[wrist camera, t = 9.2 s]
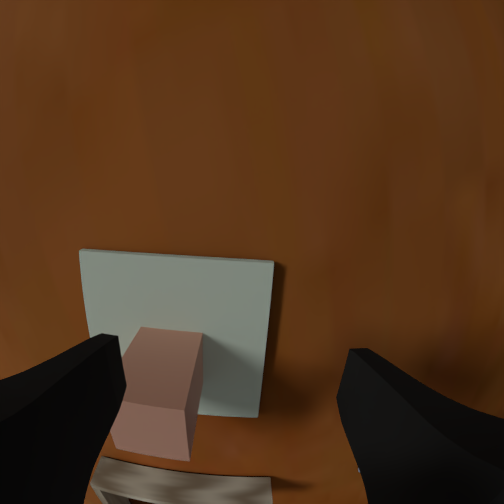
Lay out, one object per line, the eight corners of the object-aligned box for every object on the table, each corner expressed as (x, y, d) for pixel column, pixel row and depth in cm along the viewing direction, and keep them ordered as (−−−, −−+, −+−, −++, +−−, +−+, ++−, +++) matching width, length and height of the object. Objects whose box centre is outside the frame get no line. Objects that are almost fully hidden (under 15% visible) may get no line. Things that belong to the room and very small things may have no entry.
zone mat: (273, 260, 18) (274, 263, 17) (257, 413, 21) (257, 417, 20) (82, 248, 17) (78, 250, 17) (106, 395, 20) (104, 399, 20)
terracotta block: (202, 332, 18) (184, 410, 11) (203, 382, 19) (189, 461, 12) (140, 326, 18) (99, 395, 11) (146, 375, 19) (116, 448, 12)
